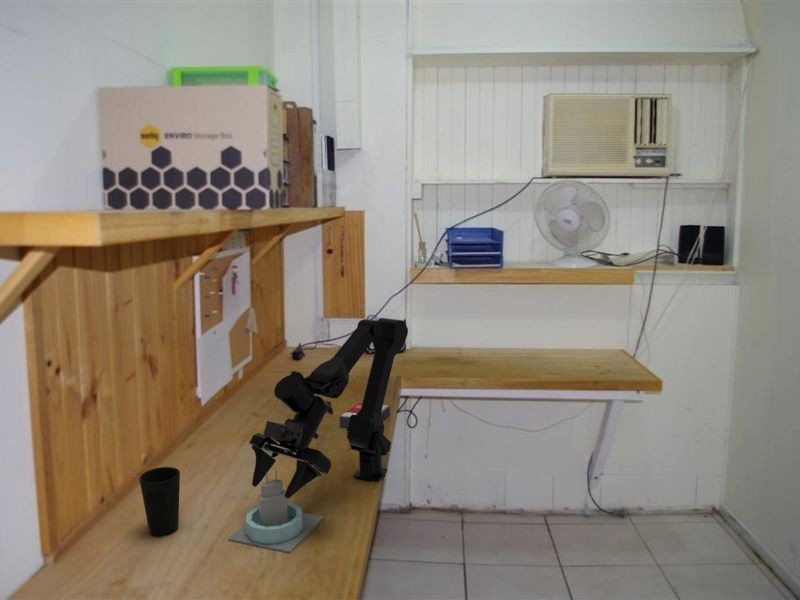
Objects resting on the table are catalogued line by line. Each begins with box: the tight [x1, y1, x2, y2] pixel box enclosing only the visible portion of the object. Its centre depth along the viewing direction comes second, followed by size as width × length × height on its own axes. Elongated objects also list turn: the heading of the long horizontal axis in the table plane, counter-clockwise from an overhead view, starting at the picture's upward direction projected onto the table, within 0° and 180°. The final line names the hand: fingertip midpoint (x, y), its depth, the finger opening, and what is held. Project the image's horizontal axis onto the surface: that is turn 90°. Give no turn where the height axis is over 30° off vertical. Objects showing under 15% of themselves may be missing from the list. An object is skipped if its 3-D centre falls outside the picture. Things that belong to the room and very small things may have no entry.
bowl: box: [245, 501, 303, 544], centre depth 126 cm, size 11×11×3 cm
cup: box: [139, 466, 181, 538], centre depth 126 cm, size 8×8×12 cm
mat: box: [228, 512, 325, 554], centre depth 127 cm, size 14×14×1 cm
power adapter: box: [257, 470, 288, 527], centre depth 125 cm, size 3×5×12 cm, turn 117°
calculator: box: [339, 402, 391, 430], centre depth 189 cm, size 11×4×15 cm
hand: (269, 491), depth 124 cm, fingers open, 9 cm apart
